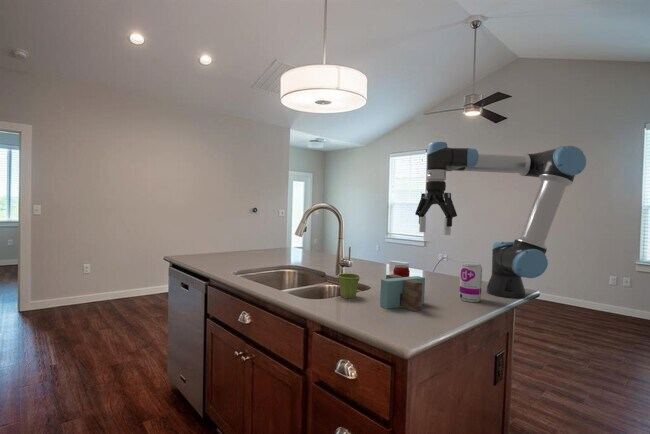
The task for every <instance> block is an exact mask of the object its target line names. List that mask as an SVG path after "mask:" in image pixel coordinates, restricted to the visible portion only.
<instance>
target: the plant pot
mask: <svg viewBox="0 0 650 434" xmlns="http://www.w3.org/2000/svg"><path fill="white" fill-rule="evenodd" d="M361 276H362V275H361V274H356V273H351V272H350V273H349V272H348V273H347V272H346V273H339V274H337V277H338V280H339V288H340V297H342V298H343V299H345V298H346V299H351V298H353V299H354V298H356V297H357V290H358V285H359V281H360V278H361Z"/></svg>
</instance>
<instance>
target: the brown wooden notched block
mask: <svg viewBox="0 0 650 434" xmlns="http://www.w3.org/2000/svg"><path fill="white" fill-rule="evenodd" d="M401 277H402V276H398V275H395V274H392V275H389V274H386V275H385V279H390V278H401ZM422 305H423V304H422V282H419V281H415V280H405V281H404V293H402V294H400V308H404V309H406V310H409V311H411V312H417V311H421V310H422Z"/></svg>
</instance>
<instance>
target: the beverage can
mask: <svg viewBox="0 0 650 434" xmlns="http://www.w3.org/2000/svg"><path fill="white" fill-rule="evenodd" d="M393 274H395V275H398V276H402V277H410V274H411V273H410V267H409V268H408V266H404V265H396V266H395V268H394V270H393Z"/></svg>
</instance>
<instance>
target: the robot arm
mask: <svg viewBox="0 0 650 434" xmlns="http://www.w3.org/2000/svg"><path fill="white" fill-rule="evenodd" d="M426 157H427V158H426V160H427V161H426V184H425V185H426V186H425V187H426V188H425V190H426V191H427V193H425V192H424V193H421V195H420V200H419V202H418V205H417V208H416V210H415V216H418V224H419V229H418V231H419V232H418V233H426V223H427V222H426V221H427V217H426V215H427V213H428V211H429V210H430V208H431V207H432V206H433V205H438V206H439V207H440V209H441V211H442V212H443V214H444V215H445V218H444V219H443V220H444V222H443V225H444V227H443V235H444V236H451V230H452V229H451V228H452V226H453V218H455V217H457V216H458V213H457V211H456V208H455V205H454V203H453V200H452V193H451V192H445V191H446V188H447V183H446V180H447V172H453V171H454V172H455V171H456V172H459V171H460V172H479V173H480V172H483V173H502V174H518V175H520V176H522V177H532V178H539V179H540V185H539V186H538V189H537V192H536V194H535V198H534V200H533V202H532V205H531V209H530V211H529V213H528V216H527V219H526V222H525V224H524V228H523V230H522V232H521V235H520V237H517V238H515V239H514V241H496V242H494V243H493V245H492V250H491V251H492V253H491V254H492V257H491V260H492V261H491V276H490V278H489V280H488V284H487V286H486V292H487V294H491V295H493V296H497V297H502V298H510V299H511V298H512V299H522V298H525V297H526V290H525V287H524V282H523V280H522V279H523V278H526V279H536V278H538V277H540V276H542V275H543V274H544V273H545V272H546V270H547V268H548V265H549V261H548V260H549V259H548V258H547V256H546V253H547V251H548V247H547V246H546V245H545V243H546V241H547V238H548V235H549V232H550V229H551V227H552V224H553V223H554V222H553V221H554V219H555V217H556V214H557V211H558V208H559V206H560V204H561V201H562V198H563V196H564V193H565V191H566V188H567V187H569V186H571V185H572V184H573V182H574V179H575V177H576V175H579V174H580V173H582V172H583V171H584V170H585V168H586V165H587V157H586V155H585V153H584V151H583V150H581V148H580V147H577V146H574V145H563V146H561V145H560V146H559V147H557V148H552V149H548V150H545V151H541V152H536V153H535V152H534V153H523V154H522V155H503V154H481V153H479V151H478V150H477V149H476V148H471V147H467V148H466V147H448V142H445V141H433V142H430V143H429V144H428V145H427V154H426Z"/></svg>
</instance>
